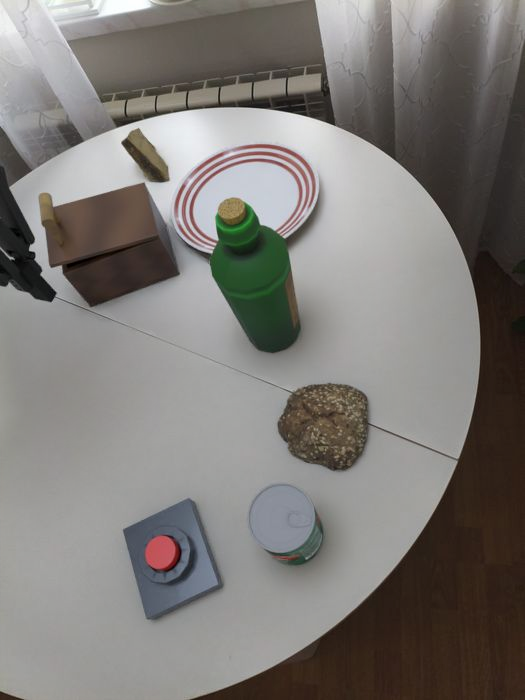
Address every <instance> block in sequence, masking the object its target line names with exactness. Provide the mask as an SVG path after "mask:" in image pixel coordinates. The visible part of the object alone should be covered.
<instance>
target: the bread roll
mask: <svg viewBox="0 0 525 700" xmlns="http://www.w3.org/2000/svg"><path fill="white" fill-rule="evenodd" d="M368 406H369V405H368V397H367V395H366V394H365V393H364V392H363V391H362V390H360V389H358V388H356V387H354V386H351V385H349V384H344V383H343V384H342V383H331V382H327V383H323V384H322V383H320V384H319V383H318V384H315V383H314V384H308V385H307V386H302V387H299V388H297V389H296V390H293V391H292V392H291V394H290V395H289V397H288V398H287V400H286V404H285V407H284V408H283V413H282V414H281V415H280V416H279V418H278V420H277V423H276V424H277V429H278V430H277V431H278V434H279V436H280V437H281V438H282V440H283V441H284V442H286V443H287V444H288V445H287V449H288V451H289V452H290V454H291V455H293V456H295V458H298V459H301V460H303V461H304V462H306V463H310V464H320V465H322V466H325V467H327V468H328V469H329V470H331V471H335V470H338V469H340V470H344V469H346V468H349V467H351V466H352V465H353V464H354V463H355V462H356V461H357V458H358V457H359V455H361V453H362V452H363V451H362V450H363V448H364V447H365V444H366V442H367V437H368V428H369V427H368V425H369V424H368V423H369V421H368V420H369V419H368V418H369V413H368V412H369V408H368Z"/></svg>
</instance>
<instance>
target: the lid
mask: <svg viewBox="0 0 525 700" xmlns="http://www.w3.org/2000/svg"><path fill="white" fill-rule="evenodd" d="M146 187H147V185H146V182H140V183H136V184H132V185H129V186H125V187H121V188H118V189H114V190H110V191H106V192H102V193H99V194H95V195H92V196H89V197H84V198H81V199H77V200H74V201H71V202H65V203H63V204H58V205H55V206H54V202H53V197H52V195H51V194H50V193H49V192H41V193H39V194H38V197H37V198H38V206H39V214H40V224H41V226H42V227H43V228H44V231H45V241H46V248H47V250H46V251H47V258H48V265H49V268H51V269H53V268H54V269H55V268H57V267H60V266H61V267H62V265H65V264H68V263H72V262H75V261H79V260H82V259H86V258H90V257H93V256H97V255H100V254H104V253H107V252H111V251H115V250H118V249H122V248H125V247H129V246H132V245H136V244H140V243H143V242H147V241H150V240H154V239H158V238H159V234H158V230H157V226H156V223H155V219H154V215H153V211H152V208H151V204H150V200H149V196H148V192H147V189H148V188H147V189H146Z"/></svg>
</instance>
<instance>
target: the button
mask: <svg viewBox="0 0 525 700" xmlns="http://www.w3.org/2000/svg"><path fill="white" fill-rule="evenodd" d="M179 556H180V549H179V546H178V544H177V543H176V541H174V540H173V539H171V538H169V537H167V536H157V537H155V538H153V539H152V540H151V541H150V542H149V544H148V545H147V548H146V551H145V557H146V561H147V563H148V564H149V565H150V566H151V567H152V568H155V569H158V570H161V571H166V570H169V569H171V568H172V567H173V566H175V564H176V563H177V561H178V559H179Z"/></svg>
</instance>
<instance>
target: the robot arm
mask: <svg viewBox="0 0 525 700" xmlns="http://www.w3.org/2000/svg"><path fill="white" fill-rule="evenodd" d="M35 242H36V238H35V235H34V233H33V231H32V229H31V228H30V225H29V223H28V221H27V219H26V218H25V216H24V214H23V212H22V210H21V208H20V206H19V203H18V202H17V200H16V198H15V196H14V195H13V192H12V191H11V189H10V187H9V184H8V178H7V174H6V170H5V167H4V166H2V165H0V287H4V288H7V286H9V284H10V285H11V286H12V287H13V288H14V289H15V290H16V291H18V292H24V293H28V294H29V295H30V296H31V297H33V299H34V300H39V301H43V302H48V303H53V301H54V299H55V298H56V296H57V294H58V292H57V291H56V290H55V289H54V288H53V287H52V286H51V285H50V284H49V282H48V281H47V280H46V279H45V277H43V276H42V275H41V274H42V272H43V268H42V266H41V265H40V264H39V263H38V262H37V261H36V258H37V257H36V256H37V254H36V251H32V250H30V247H31V246H32V245H34V244H35Z"/></svg>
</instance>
